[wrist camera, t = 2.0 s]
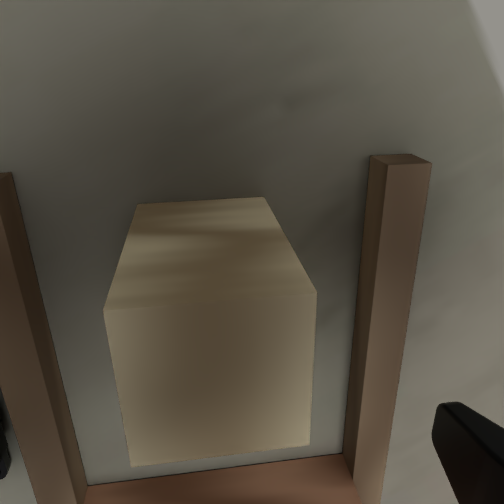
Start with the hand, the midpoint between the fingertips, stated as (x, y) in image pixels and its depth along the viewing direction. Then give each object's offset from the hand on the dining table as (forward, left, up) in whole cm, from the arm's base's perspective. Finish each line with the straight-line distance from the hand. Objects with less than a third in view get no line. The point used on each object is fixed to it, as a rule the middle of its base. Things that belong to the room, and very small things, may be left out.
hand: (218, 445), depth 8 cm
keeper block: (0, 0, -9) cm, 9 cm away
